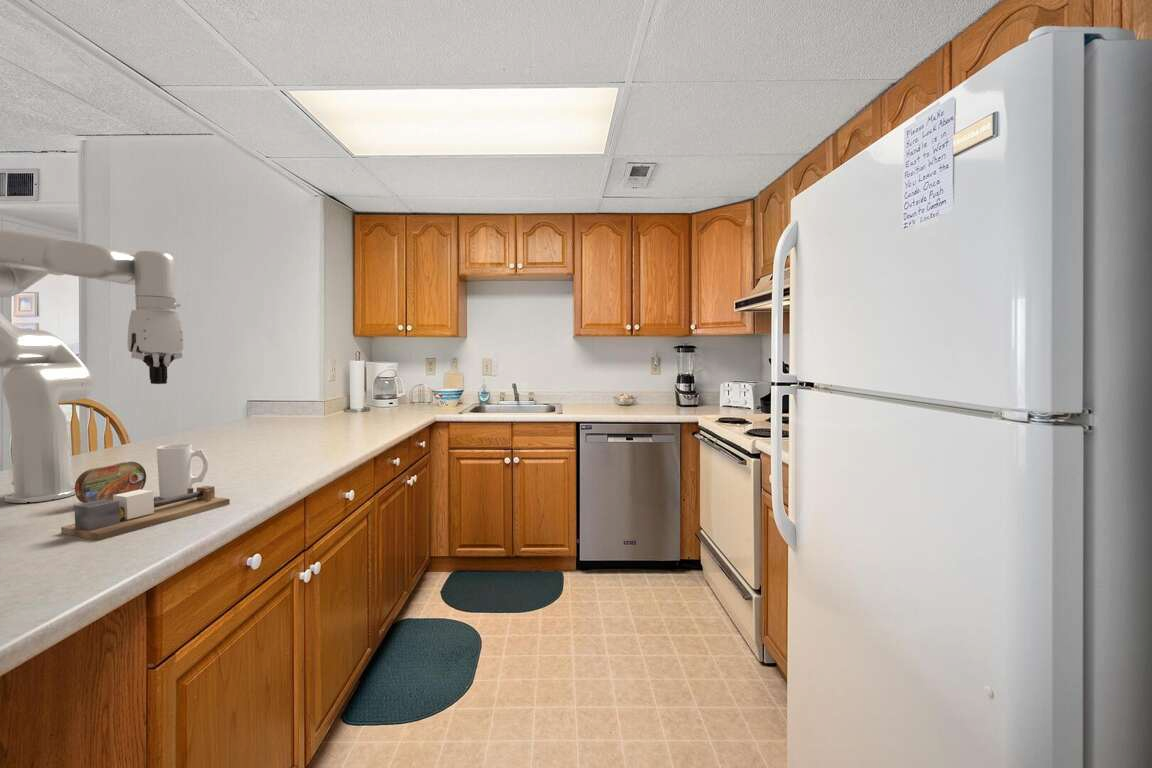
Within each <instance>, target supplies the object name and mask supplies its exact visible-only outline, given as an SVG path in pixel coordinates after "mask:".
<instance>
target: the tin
mask: <svg viewBox="0 0 1152 768" xmlns="http://www.w3.org/2000/svg"><path fill="white" fill-rule="evenodd" d="M146 481H147V473H146V470H145V468H144V466H142V464H140V463H139V462H137V461H127V462H126V461H123V462H118V463H113V464H109V465H104V466H99V467H96V468H91V469H88V470H85V471H83V472H82V473H81V474H80V475H79V476H78V477H77V478H76V481H75V483H74V486H75V493H76V494H75V496H76V499H78V500H79V502H81V504H83V503H88V502H92V501H97V500H101V499H109V500H113V495H116V494H121V493H126V492H130V491H135V490H140V489H141V490H144V488H145V485H146Z"/></svg>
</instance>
